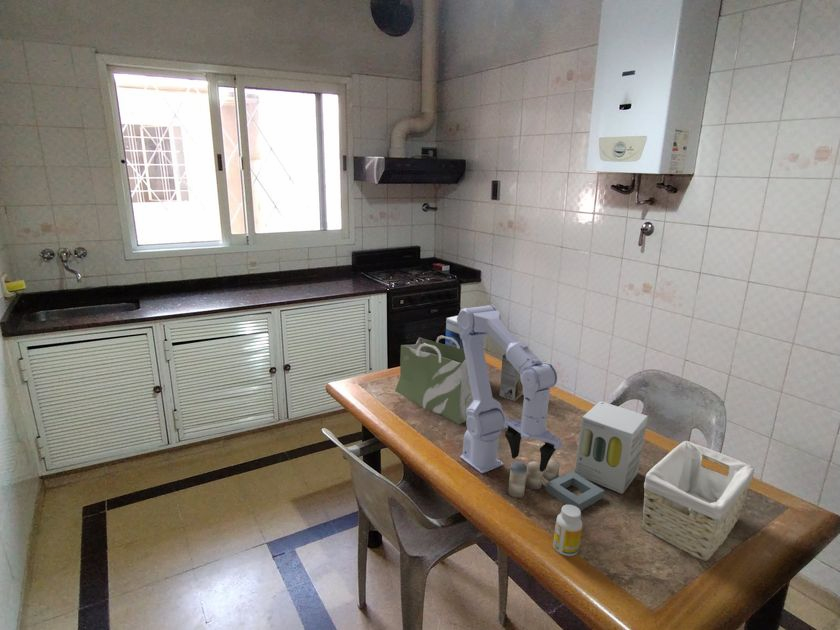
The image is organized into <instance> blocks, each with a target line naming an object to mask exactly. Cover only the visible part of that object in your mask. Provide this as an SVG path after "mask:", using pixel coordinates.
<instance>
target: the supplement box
mask: <svg viewBox="0 0 840 630" xmlns="http://www.w3.org/2000/svg"><path fill="white" fill-rule="evenodd" d="M648 419H649V415H646V414H644V413H643V414H642V413H640V412H637V411H633V410H630V409H627V408H624V407H623V406H622V407H621V406H618V405H614V404H611V403H609V402H605V401H602V400H600V401H599V402H597V403H596V404H595V405H594V406H592V408H590V410H588V411H587V412H586V413H585V414H584V415H583V416H582V418H581V423H580V424H581V425H580V431H579V439H578V445H577V446H578V447H577V452H576V453H577V454H576V461H575V467H574V468H575V470H574V472H575V473H576V474H578V475H580V476H581V477H583V478H584V479H586V480H588V481H589V482H591V483H595V484H597V485H600V486H602V487H605V488H607V489H609V490H612V491H614V492H616V493H619V494H620V495H622V494H624V493H625V491H626V490H627V489H628V488H629V486H631V485H630V484H632V482H633V481H634V479H635V478H636V476H637V475H638V474H639V468H640V463H641V458H642V457H641V456H642V453H643V445H644V440H645V436H646V435H645V434H646V430H647V425H648Z"/></svg>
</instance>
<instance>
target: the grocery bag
mask: <svg viewBox="0 0 840 630" xmlns="http://www.w3.org/2000/svg"><path fill="white" fill-rule="evenodd" d="M441 339H445V340H446V339H449V340H451V341H453V342H454V343H455V344H456V346H457V347H453V346H448V345H445V344H443V343H441V342H439V341H440V340H441ZM399 361H400V362H399V365H400V366H399V367H400V375H399V379H398V382H397V384H396V387H395V390H394V392H395V393H397V394H399V395H401V396H403V397H405V398H406V399H408V400H411V402H413V403H414V404H417V405H418V406H420V407H421V408H423V409H424V410H428V411H430V412H433V413H435V414H438V415H440V416H443V417H445V418H447V419H448V420H450V421H452V422H454V423H456V424H457V425H461V424H462V423H463V424H464V422H466V421H467V413H466V410H467V408H468V407H469V406H470V405H471V403H472V402H473V396H472V391H471V385H470V380H469V374H468V369H467V364H466V358H465V353H464V349H461V348H460V346H459V344H458V343H457V341H455V340H454V339H453V338H449V337H446V335H445V336H444V335H439V336H437V338H436V340H435V341H433V340H430V339H426V338H423V337H418V339H417V341H416V343H415V344H414V343H413V344H401V345H400V358H399ZM482 412H483V411H482Z"/></svg>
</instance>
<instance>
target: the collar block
mask: <svg viewBox="0 0 840 630" xmlns="http://www.w3.org/2000/svg"><path fill="white" fill-rule="evenodd" d="M571 486H572V487H574V488H576V489H578V490H579V491H581V492H582V493H580V494H579V495H577V494H575V493H573V492H571V491H570V490H568V489H567V488H569V487H571ZM545 491H546V492H547V493H549V494H550V495H552V496H553V497H555V498H556V499H558V500H559V501H561V502H562V503H563V504H565V505H567V504H568V505H574V506H576V507H578V508H579V509H580V511H582V510H584V509H587V508H588V507H589V506H592V505H593V504H595V503H597V502H598V501H600V500H602V499H603V498H604V496H605V495H604V494H605V489H603V488H601V487H599V486H598V485H596V484H594V482H592V481H590V480H588V479H585V478H583V477H581V476H580V475H578V474H576V473H575V471H573V470H570V471H568V472H565V473H563V474H562V475H560V476H558V478H556V479H554V480H552V481H550V480H549V481H548V482H546V483H545Z"/></svg>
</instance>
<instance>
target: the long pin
mask: <svg viewBox="0 0 840 630" xmlns="http://www.w3.org/2000/svg"><path fill="white" fill-rule="evenodd" d="M527 469H528V465H526V464H525V463H522V462H517V461H516V462H515V461H514V462H512V463H511V464H510V470H509V480H508V489H507V491H508V495H509V496H511V497H513V498H517V499H520V498H523V497H524V496H525V489H526V478H527Z"/></svg>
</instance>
